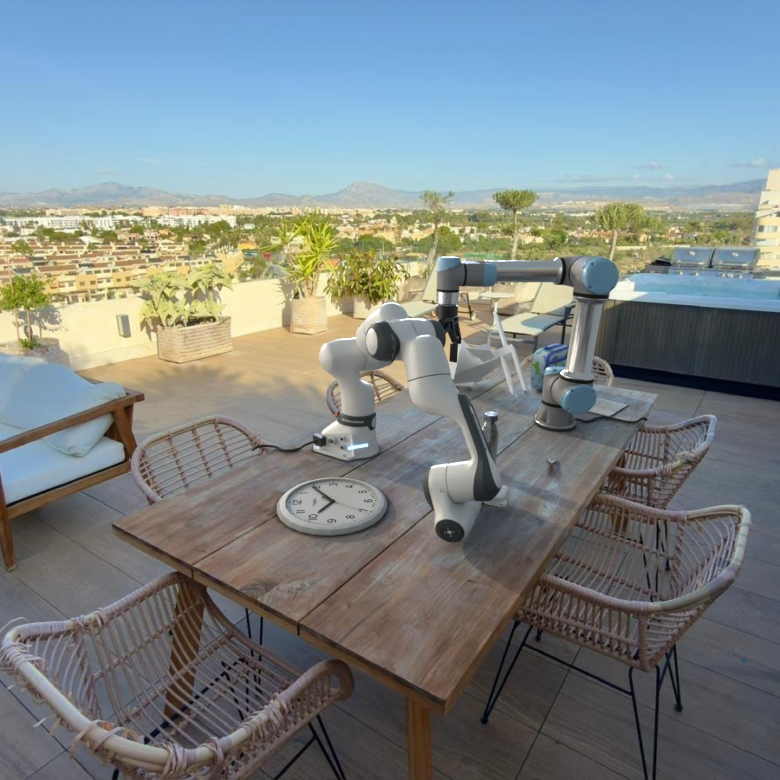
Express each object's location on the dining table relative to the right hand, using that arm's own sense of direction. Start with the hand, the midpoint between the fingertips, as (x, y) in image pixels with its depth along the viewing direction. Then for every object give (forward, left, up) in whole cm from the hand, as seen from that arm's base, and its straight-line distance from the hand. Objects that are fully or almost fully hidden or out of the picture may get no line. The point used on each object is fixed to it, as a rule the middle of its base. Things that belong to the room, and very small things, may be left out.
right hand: (444, 365), depth 181 cm
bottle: (-15, +25, -27) cm, 40 cm away
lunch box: (-51, -72, -27) cm, 92 cm away
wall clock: (+28, +52, -27) cm, 65 cm away
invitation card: (-68, -47, -27) cm, 87 cm away
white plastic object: (-16, -59, -27) cm, 67 cm away
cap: (-15, +25, -8) cm, 30 cm away
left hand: (-11, +40, -22) cm, 47 cm away
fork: (-36, +18, -27) cm, 49 cm away
